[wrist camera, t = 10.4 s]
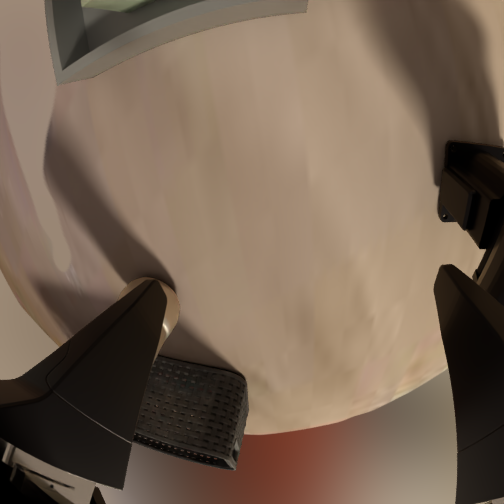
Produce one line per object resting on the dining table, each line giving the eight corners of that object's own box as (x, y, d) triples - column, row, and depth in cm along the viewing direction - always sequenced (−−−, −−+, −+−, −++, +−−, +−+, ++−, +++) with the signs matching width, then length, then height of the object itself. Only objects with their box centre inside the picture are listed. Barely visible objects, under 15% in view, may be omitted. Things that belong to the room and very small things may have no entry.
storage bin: (124, 382, 51) (104, 431, 41) (85, 331, 39) (52, 393, 29) (249, 412, 47) (238, 472, 37) (247, 369, 36) (228, 458, 25)
